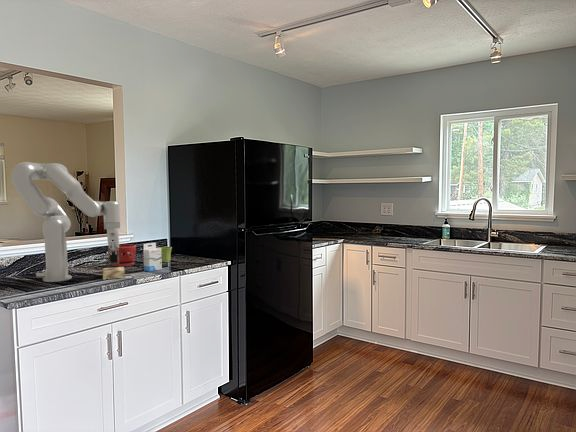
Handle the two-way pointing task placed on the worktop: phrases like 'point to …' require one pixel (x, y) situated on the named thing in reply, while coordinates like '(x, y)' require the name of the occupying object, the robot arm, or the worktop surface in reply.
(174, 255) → the worktop surface
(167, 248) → the plant pot
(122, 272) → the maple block
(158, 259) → the ink box
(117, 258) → the walnut block
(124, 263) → the plant pot
